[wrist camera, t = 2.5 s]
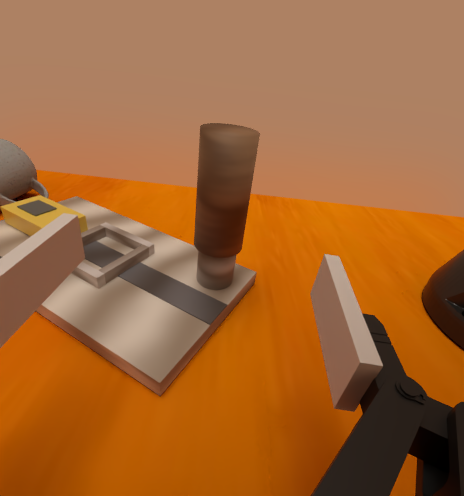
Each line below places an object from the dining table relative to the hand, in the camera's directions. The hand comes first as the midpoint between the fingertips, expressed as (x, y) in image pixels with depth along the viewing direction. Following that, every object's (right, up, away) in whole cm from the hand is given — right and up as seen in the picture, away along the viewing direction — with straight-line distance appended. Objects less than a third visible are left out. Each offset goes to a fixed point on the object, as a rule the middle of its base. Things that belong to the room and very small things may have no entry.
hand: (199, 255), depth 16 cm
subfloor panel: (-12, -2, +15) cm, 19 cm away
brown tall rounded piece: (0, -3, +13) cm, 14 cm away
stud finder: (-19, +3, +17) cm, 26 cm away
